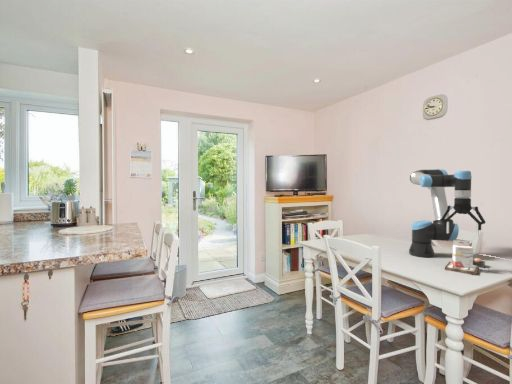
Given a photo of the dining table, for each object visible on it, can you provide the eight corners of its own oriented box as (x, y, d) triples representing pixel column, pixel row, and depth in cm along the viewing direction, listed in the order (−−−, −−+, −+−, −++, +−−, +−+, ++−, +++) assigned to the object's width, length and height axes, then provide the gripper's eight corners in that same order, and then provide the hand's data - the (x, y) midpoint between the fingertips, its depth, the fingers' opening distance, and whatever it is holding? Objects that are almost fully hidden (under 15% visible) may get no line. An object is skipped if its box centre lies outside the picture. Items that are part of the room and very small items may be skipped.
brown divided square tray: (444, 269, 154) (444, 266, 154) (449, 263, 164) (449, 261, 164) (476, 275, 144) (476, 272, 144) (479, 268, 155) (479, 265, 154)
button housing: (471, 265, 160) (471, 261, 160) (472, 263, 164) (472, 259, 164) (484, 267, 156) (484, 263, 156) (485, 265, 160) (485, 261, 160)
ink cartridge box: (455, 266, 153) (455, 241, 153) (452, 264, 158) (452, 239, 157) (473, 268, 150) (473, 242, 150) (469, 265, 155) (469, 240, 154)
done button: (473, 262, 160) (473, 258, 160) (474, 260, 162) (474, 257, 162) (481, 263, 157) (481, 260, 157) (482, 262, 160) (482, 258, 160)
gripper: (435, 197, 159) (435, 232, 160) (491, 198, 141) (490, 238, 142) (438, 196, 164) (437, 230, 165) (492, 197, 147) (491, 236, 148)
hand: (462, 234), depth 154 cm, fingers open, 13 cm apart
